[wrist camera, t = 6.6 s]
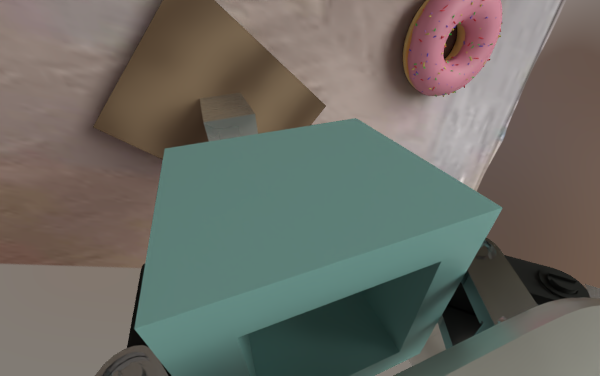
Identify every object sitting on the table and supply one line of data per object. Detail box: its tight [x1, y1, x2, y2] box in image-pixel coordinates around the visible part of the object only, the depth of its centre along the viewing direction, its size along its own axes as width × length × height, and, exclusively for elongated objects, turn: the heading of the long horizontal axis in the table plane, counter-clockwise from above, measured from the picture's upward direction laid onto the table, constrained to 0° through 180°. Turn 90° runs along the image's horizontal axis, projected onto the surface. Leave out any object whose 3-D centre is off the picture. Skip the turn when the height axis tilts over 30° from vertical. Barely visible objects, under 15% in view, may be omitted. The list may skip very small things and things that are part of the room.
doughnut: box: [403, 0, 503, 97], centre depth 27 cm, size 11×11×4 cm
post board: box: [93, 0, 326, 159], centre depth 21 cm, size 15×13×8 cm
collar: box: [134, 118, 502, 376], centre depth 9 cm, size 7×7×6 cm
